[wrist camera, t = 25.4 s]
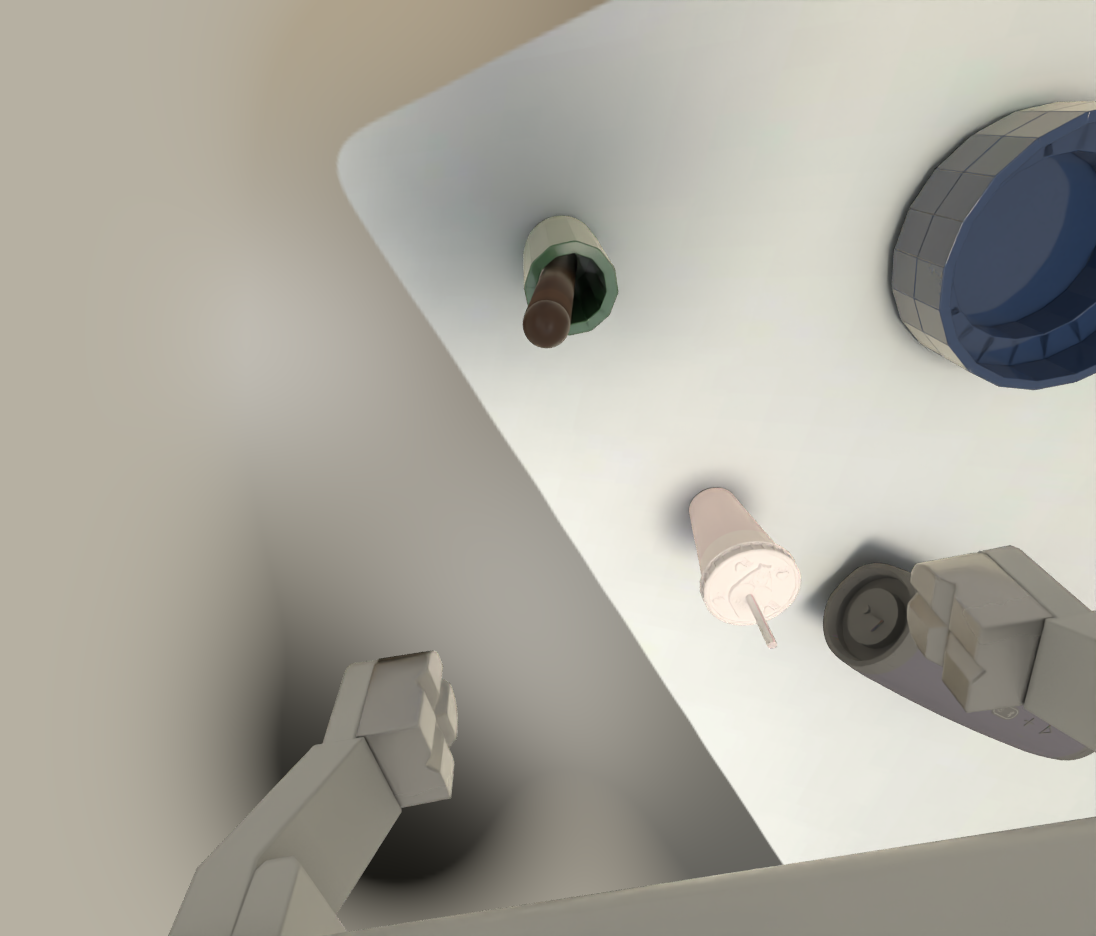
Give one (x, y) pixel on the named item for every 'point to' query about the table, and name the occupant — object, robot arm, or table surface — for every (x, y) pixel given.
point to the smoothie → (740, 563)
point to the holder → (592, 271)
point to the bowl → (1008, 251)
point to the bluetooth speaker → (920, 661)
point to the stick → (552, 303)
